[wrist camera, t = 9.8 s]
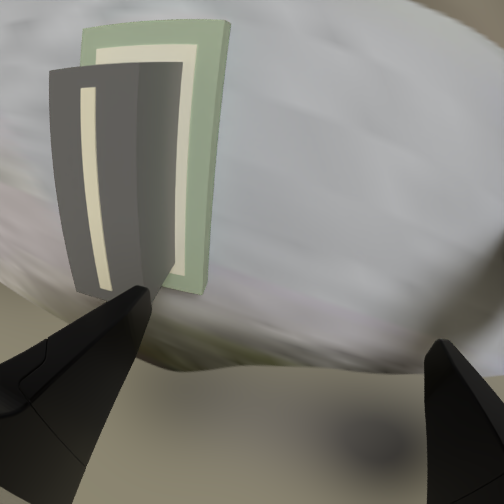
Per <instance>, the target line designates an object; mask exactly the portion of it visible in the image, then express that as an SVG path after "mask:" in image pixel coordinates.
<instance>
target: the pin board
mask: <svg viewBox="0 0 504 504" xmlns="http://www.w3.org/2000/svg"><path fill="white" fill-rule="evenodd" d="M230 28H231V23H229V22H227V21H226V20H211V19H176V20H154V21H140V22H129V23H120V24H112V25H104V26H98V27H91V28H85V29H83V33H82V44H81V60H80V66H87V65H97V64H108V63H125V62H183V69H182V80H181V92H180V105H179V119H178V136H177V157H176V187H175V264H174V266H173V267H172V269H171V271H170V272H169V274H168V276H167V277H166V279H165V281H164V283H163V284H162V286H163V287H167V288H171V289H176V290H180V291H185V292H189V293H194V294H199V295H202V294H203V292H204V290H205V287H206V285H207V281H208V263H209V246H210V230H211V215H212V202H213V189H214V176H215V164H216V153H217V142H218V132H219V122H220V112H221V102H222V93H223V84H224V76H225V67H226V59H227V51H228V43H229V35H230Z"/></svg>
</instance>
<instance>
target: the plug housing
mask: <svg viewBox="0 0 504 504" xmlns="http://www.w3.org/2000/svg"><path fill="white" fill-rule="evenodd" d="M182 69H183V62H125V63H108V64H97V65H87V66H79V67H71V68H64V69H58V70H52V71H49V111H50V133H51V148H52V159H53V169H54V178H55V186H56V193H57V200H58V207H59V213H60V219H61V224H62V230H63V235H64V240H65V245H66V250H67V254H68V259H69V263H70V268H71V272H72V276H73V280H74V284H75V288H76V291H77V292H79V293H83V294H86V295H89V296H93V297H96V298H99V299H103V300H106V301H109V300H111V299H113V298H114V297H116V296H118V295H120V294H121V293H123V292H125V291H126V290H128V289H130V288H132V287H133V286H135V285H140V286H144V287H148V288H149V290H150V296H151V303H152V301H153V300H154V298H155V296H156V295H157V293H158V291H159V289H160V288H161V286H162V284H163V283H164V281H165V279H166V277H167V276H168V274H169V272H170V271H171V269H172V267H173V266H174V264H175V187H176V157H177V136H178V119H179V105H180V92H181V80H182Z"/></svg>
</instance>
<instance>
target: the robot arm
mask: <svg viewBox="0 0 504 504" xmlns="http://www.w3.org/2000/svg"><path fill="white" fill-rule="evenodd" d="M151 311H152V305H151V296H150V290H149V288H148V287H144V286H140V285H135V286H133V287H132V288H130V289H128V290H126V291H125V292H123V293H121V294H120V295H118V296H116V297H114V298H113V299H111V300H109V301H108V302H106V303H104V304H103V305H101V306H99V307H97V308H96V309H94V310H92V311H91V312H89V313H87V314H86V315H84V316H82V317H81V318H79V319H77V320H76V321H74V322H72V323H71V324H69V325H67V326H66V327H64V328H62V329H61V330H59V331H58V332H56V333H54V334H53V335H51V336H49V337H48V339H44V340H43V341H41V342H39V343H38V344H36V345H35V346H33V347H31V348H29V349H28V350H26V351H24V352H22V353H20V354H18V355H17V356H15V357H13V358H11V359H9V360H7V361H5V362H3V363H1V364H0V504H72V502H73V499H74V497H75V494H76V492H77V489H78V487H79V484H80V482H81V479H82V477H83V474H84V472H85V469H86V466H87V464H88V462H89V459H90V457H91V455H92V452H93V450H94V448H95V445H96V443H97V440H98V438H99V436H100V433H101V431H102V429H103V427H104V425H105V422H106V420H107V418H108V416H109V413H110V411H111V409H112V407H113V404H114V402H115V400H116V398H117V396H118V393H119V391H120V389H121V387H122V385H123V383H124V381H125V379H126V377H127V374H128V372H129V370H130V368H131V366H132V364H133V362H134V359H135V357H136V355H137V352H138V350H139V347H140V344H141V341H142V338H143V335H144V332H145V329H146V327H147V324H148V321H149V318H150V316H151ZM424 377H425V378H424V382H425V383H424V385H425V386H424V390H425V391H424V392H425V393H424V395H425V396H424V403H425V418H426V435H427V468H428V470H427V473H428V474H427V476H428V477H427V478H428V479H427V504H504V403H503V402H502V401H501V399H500V398H499V397H498V396H497V395H496V393H495V392H494V391H493V390H492V389H491V387H490V386H489V385H488V384H487V382H486V381H485V380H484V379H483V378H482V377H481V375H480V374H479V373H478V372H477V371H476V370H475V369H474V367H473V366H472V365H471V364H470V363H469V362H468V361H467V359H466V358H465V357H464V356H463V355H462V354H461V353H460V352H459V350H458V349H457V348H456V347H455V346H454V345H453V344H452V343H451V342H450V341H449V340H447V339H438V340H436V341H435V343H434V344H433V346H432V347H431V348H430V350H429V351H428V353H427V354H426V356H425V359H424Z"/></svg>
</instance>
